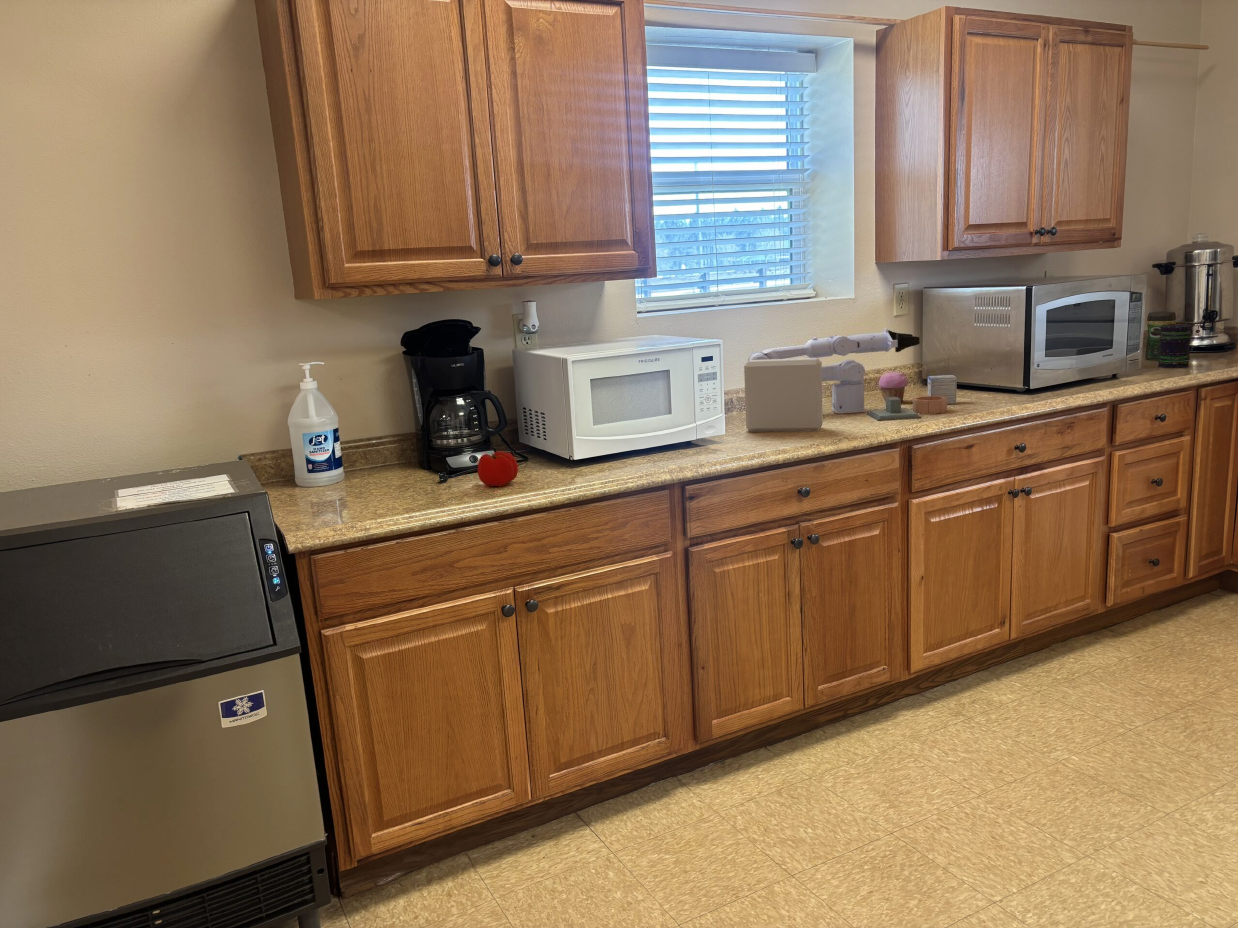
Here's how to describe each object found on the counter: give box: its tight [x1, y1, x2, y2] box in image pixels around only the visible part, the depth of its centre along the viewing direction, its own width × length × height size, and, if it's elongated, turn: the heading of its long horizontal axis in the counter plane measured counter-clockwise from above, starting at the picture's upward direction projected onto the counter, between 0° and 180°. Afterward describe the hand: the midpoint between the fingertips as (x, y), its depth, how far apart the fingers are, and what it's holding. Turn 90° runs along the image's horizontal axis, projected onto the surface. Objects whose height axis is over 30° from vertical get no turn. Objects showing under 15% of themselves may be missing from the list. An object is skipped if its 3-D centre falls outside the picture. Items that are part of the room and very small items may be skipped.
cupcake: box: [878, 371, 909, 403], centre depth 290 cm, size 9×9×10 cm
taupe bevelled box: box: [743, 357, 824, 433], centre depth 254 cm, size 21×8×20 cm, turn 73°
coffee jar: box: [1144, 310, 1177, 361], centre depth 349 cm, size 10×8×19 cm
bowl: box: [912, 395, 948, 415], centre depth 270 cm, size 9×9×4 cm
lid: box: [869, 397, 919, 419], centre depth 266 cm, size 11×11×5 cm
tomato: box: [477, 450, 519, 487], centre depth 211 cm, size 9×9×8 cm
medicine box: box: [927, 374, 958, 405], centre depth 282 cm, size 8×4×9 cm, turn 84°
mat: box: [866, 411, 922, 422], centre depth 266 cm, size 12×12×1 cm
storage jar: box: [1157, 324, 1192, 369], centre depth 327 cm, size 10×10×15 cm
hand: (915, 339), depth 274 cm, fingers open, 7 cm apart
